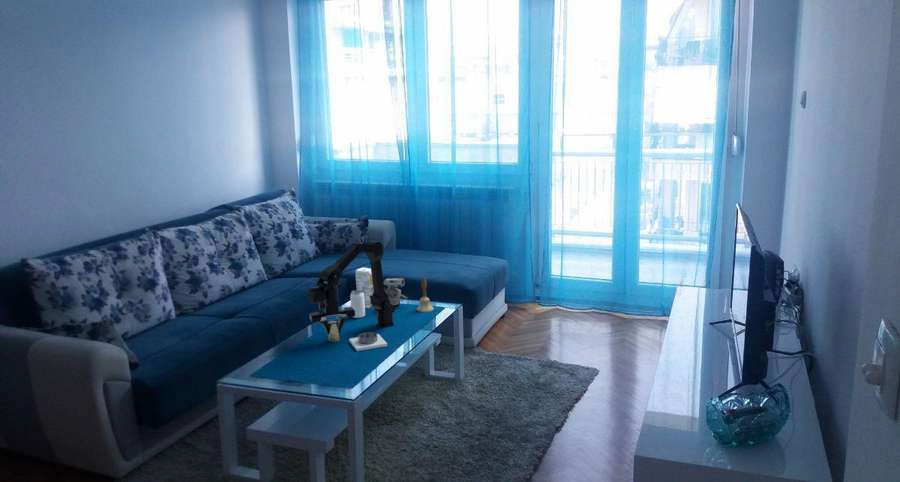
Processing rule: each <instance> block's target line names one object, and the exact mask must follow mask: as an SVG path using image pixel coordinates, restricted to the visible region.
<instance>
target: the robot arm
mask: <svg viewBox="0 0 900 482" xmlns="http://www.w3.org/2000/svg"><path fill="white" fill-rule="evenodd" d="M361 253H365V255H366V257H367V258H368V260H369V264H370V265H369V266H370V269H371V273H372V281H373V289H374V292H373V294H372V295H370V301H371V302H370V304H372V306H373V307H372V308H374V311H375V312H377V314H376V317H375V318H376V324H377V325H378V326H379V327H380V328H384V327H391V326H395V324H394V321H393V319H394V318H393V314H394V313H395V311H396V306H395V305H392V304H390V300H389V297H388V295H387V293H386V292H385V285H384V281H385V280H384V274H383V266H382V258H383V256H384V245H383V243H381V242H380V241H376V240H372V239H371V240H370V239H369V240H367V241H360V242H359V241H354V242H353V243H352V244H351V245H350V247H348V248H347V250H346V251H345V252H344V253H343V254H342V255H341V256H340V257H339V258H338V259H337V260H336V262H334V263H333V264H329V266H326V268H324V269H322V271H321V272H320V275H319V278H318V280H317V282H316V285H315V286H311V287H308V291H307V292H306V300H307V302H308V303H309V304H311V305H313V304H317V303H318V309H319V310H323V313H320V311H313V312H310V313H309V315H308V316H309V320H310V322H312V323H320V324H323V326H324V329H325V332H326V334H327V336H329V328H328V322H329V321H328V320H327V318H333V317H337V321H338V326H339V334H340V333H341V332H342V331H341V330H342V328H343V325H344V323H345V321H346V320H347V319H348V318H353V316H355V310H354V309H353V308H352V307H351V306H349V307H343V308H342V310H340V306H339V293H338V292H339V291H338V290H339V289H338V288H342V287H343V285H342V284H340V283H339V281H340V279H341V277H342V276H343V272H344V271H345V270H346V269H347V267H348V266H349V265H350V264H351V263H352V262H353V261H354V260H355V259H356V258H357V257H358V256H359V255H360V254H361Z"/></svg>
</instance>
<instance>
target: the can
mask: <svg viewBox="0 0 900 482" xmlns="http://www.w3.org/2000/svg"><path fill="white" fill-rule="evenodd" d="M349 297H350V307H352V308H353V309H354V310H355V316H353V317H352V318H353V319H361V318H364V317H365V316H366V308H365V302H364V294H363V291H361V290H357V289H356V290H352V291H351V292H350V296H349Z"/></svg>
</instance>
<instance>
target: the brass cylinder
mask: <svg viewBox="0 0 900 482" xmlns="http://www.w3.org/2000/svg"><path fill="white" fill-rule="evenodd" d="M327 322H328V328H329V335H328V342H330V341H331V342H330V343H336V341H337V342H339V341H340V333H339V326H338V320H337V321H336V320H331V321H327Z"/></svg>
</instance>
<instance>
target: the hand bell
mask: <svg viewBox="0 0 900 482" xmlns="http://www.w3.org/2000/svg"><path fill="white" fill-rule="evenodd" d="M420 288H421V289H422V297H421V298H420V299H419V305H418V307H416V311H417V312H420V313H428V312H432V311H433V310H434V307H433V306H432V305H431V304H432V303H431V302H430V298H429V297H427V280H426V278H425V277H422V279H421V287H420Z"/></svg>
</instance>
